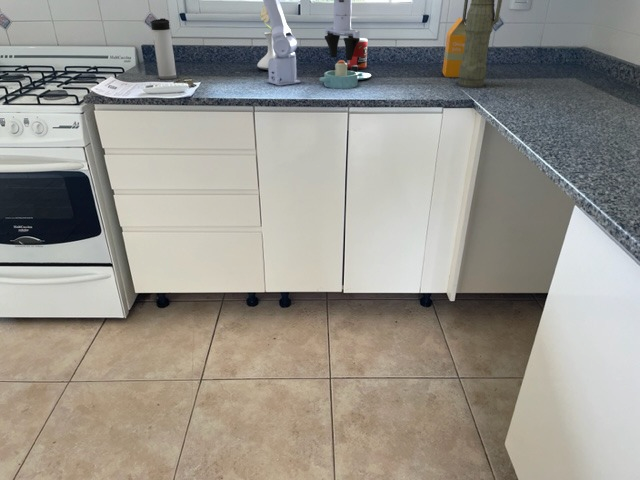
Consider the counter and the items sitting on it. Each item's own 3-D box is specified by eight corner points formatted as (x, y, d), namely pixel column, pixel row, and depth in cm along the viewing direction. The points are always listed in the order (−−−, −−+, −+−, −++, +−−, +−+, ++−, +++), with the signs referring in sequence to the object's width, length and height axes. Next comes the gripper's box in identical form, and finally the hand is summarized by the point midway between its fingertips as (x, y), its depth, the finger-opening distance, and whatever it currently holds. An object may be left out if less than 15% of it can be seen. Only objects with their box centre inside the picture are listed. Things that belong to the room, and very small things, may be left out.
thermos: (485, 89, 166) (504, -29, 149) (450, 85, 170) (465, -29, 153) (490, 84, 173) (509, -29, 156) (456, 81, 177) (471, -29, 160)
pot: (370, 84, 171) (370, 73, 169) (331, 91, 163) (332, 78, 161) (348, 79, 180) (349, 68, 178) (311, 85, 171) (311, 73, 169)
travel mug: (179, 76, 184) (171, 18, 174) (173, 79, 178) (164, 20, 169) (163, 75, 185) (154, 18, 175) (156, 79, 179) (147, 19, 169)
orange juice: (462, 72, 191) (469, 17, 182) (465, 77, 184) (473, 19, 174) (441, 72, 192) (448, 16, 182) (444, 76, 184) (451, 19, 175)
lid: (377, 78, 181) (378, 66, 179) (352, 82, 175) (352, 70, 172) (355, 73, 190) (356, 61, 188) (330, 77, 183) (330, 65, 181)
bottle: (339, 85, 168) (340, 62, 165) (332, 83, 171) (333, 60, 167) (348, 83, 170) (349, 61, 167) (341, 81, 173) (342, 59, 170)
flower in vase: (253, 68, 199) (249, 0, 187) (279, 66, 203) (277, -1, 191) (264, 73, 189) (260, 2, 177) (291, 71, 193) (289, 1, 181)
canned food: (359, 70, 196) (360, 40, 191) (343, 67, 201) (344, 39, 195) (369, 67, 202) (371, 38, 196) (353, 65, 206) (354, 37, 201)
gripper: (366, 15, 158) (364, 60, 164) (336, 13, 167) (335, 54, 174) (351, 17, 154) (349, 62, 160) (320, 14, 163) (320, 56, 170)
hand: (341, 58), depth 167 cm, fingers open, 7 cm apart
